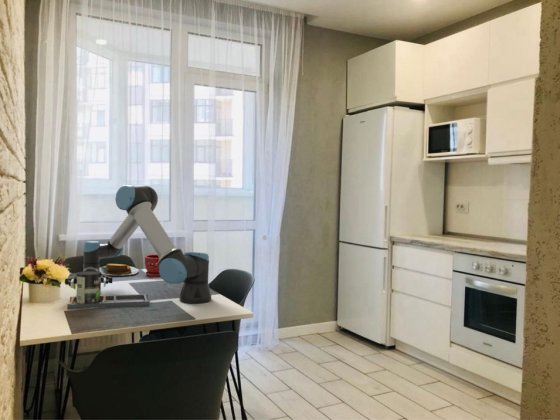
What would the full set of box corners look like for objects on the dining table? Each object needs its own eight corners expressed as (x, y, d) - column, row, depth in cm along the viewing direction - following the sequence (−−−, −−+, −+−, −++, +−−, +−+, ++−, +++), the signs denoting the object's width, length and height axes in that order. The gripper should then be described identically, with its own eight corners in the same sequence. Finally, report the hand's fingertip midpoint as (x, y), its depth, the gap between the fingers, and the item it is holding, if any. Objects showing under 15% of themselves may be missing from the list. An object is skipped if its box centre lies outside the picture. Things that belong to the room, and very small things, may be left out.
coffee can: (104, 301, 218) (104, 271, 217) (95, 307, 207) (95, 275, 207) (82, 300, 218) (82, 270, 217) (71, 306, 208) (72, 274, 207)
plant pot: (139, 275, 285) (140, 256, 285) (155, 272, 297) (155, 253, 296) (156, 278, 279) (156, 258, 279) (171, 275, 291) (171, 255, 290)
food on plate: (138, 270, 306) (139, 260, 306) (139, 277, 282) (139, 266, 282) (96, 270, 298) (97, 260, 298) (93, 278, 275) (93, 266, 274)
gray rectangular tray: (147, 297, 228) (147, 293, 228) (149, 305, 214) (149, 301, 214) (70, 301, 217) (70, 296, 217) (67, 309, 203) (67, 304, 203)
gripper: (117, 282, 234) (117, 291, 214) (62, 284, 226) (57, 293, 206) (117, 267, 234) (118, 275, 214) (62, 268, 226) (57, 276, 206)
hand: (88, 284), depth 210 cm, fingers open, 13 cm apart
